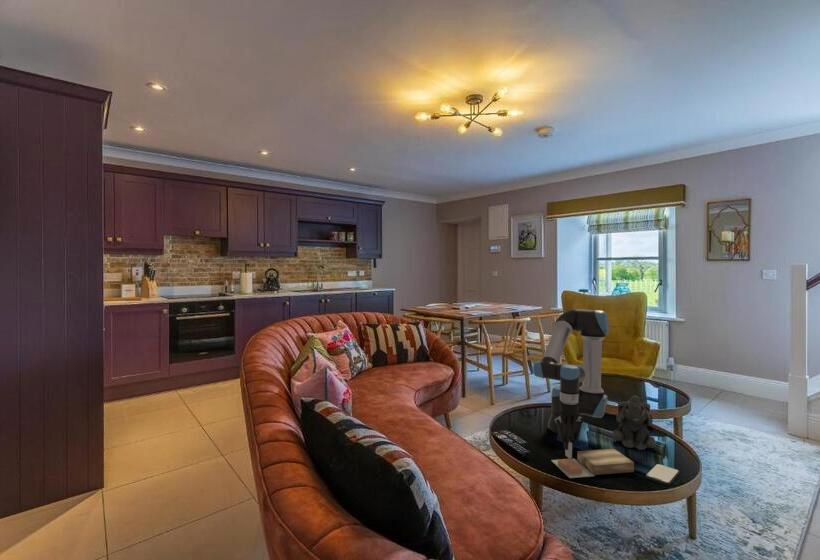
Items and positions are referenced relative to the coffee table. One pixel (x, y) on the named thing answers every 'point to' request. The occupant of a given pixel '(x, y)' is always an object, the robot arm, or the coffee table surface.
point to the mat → (584, 474)
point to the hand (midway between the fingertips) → (568, 456)
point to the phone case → (662, 474)
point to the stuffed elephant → (634, 424)
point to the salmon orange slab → (570, 466)
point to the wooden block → (605, 461)
